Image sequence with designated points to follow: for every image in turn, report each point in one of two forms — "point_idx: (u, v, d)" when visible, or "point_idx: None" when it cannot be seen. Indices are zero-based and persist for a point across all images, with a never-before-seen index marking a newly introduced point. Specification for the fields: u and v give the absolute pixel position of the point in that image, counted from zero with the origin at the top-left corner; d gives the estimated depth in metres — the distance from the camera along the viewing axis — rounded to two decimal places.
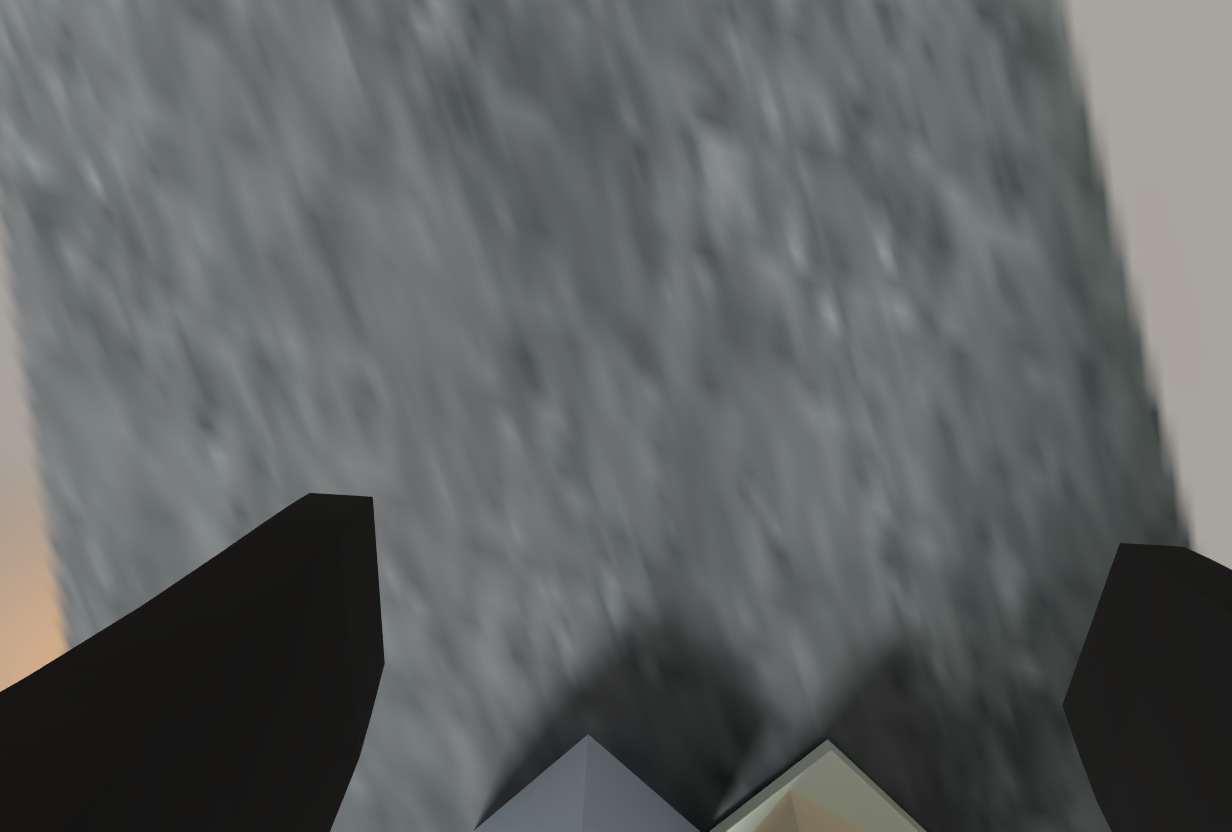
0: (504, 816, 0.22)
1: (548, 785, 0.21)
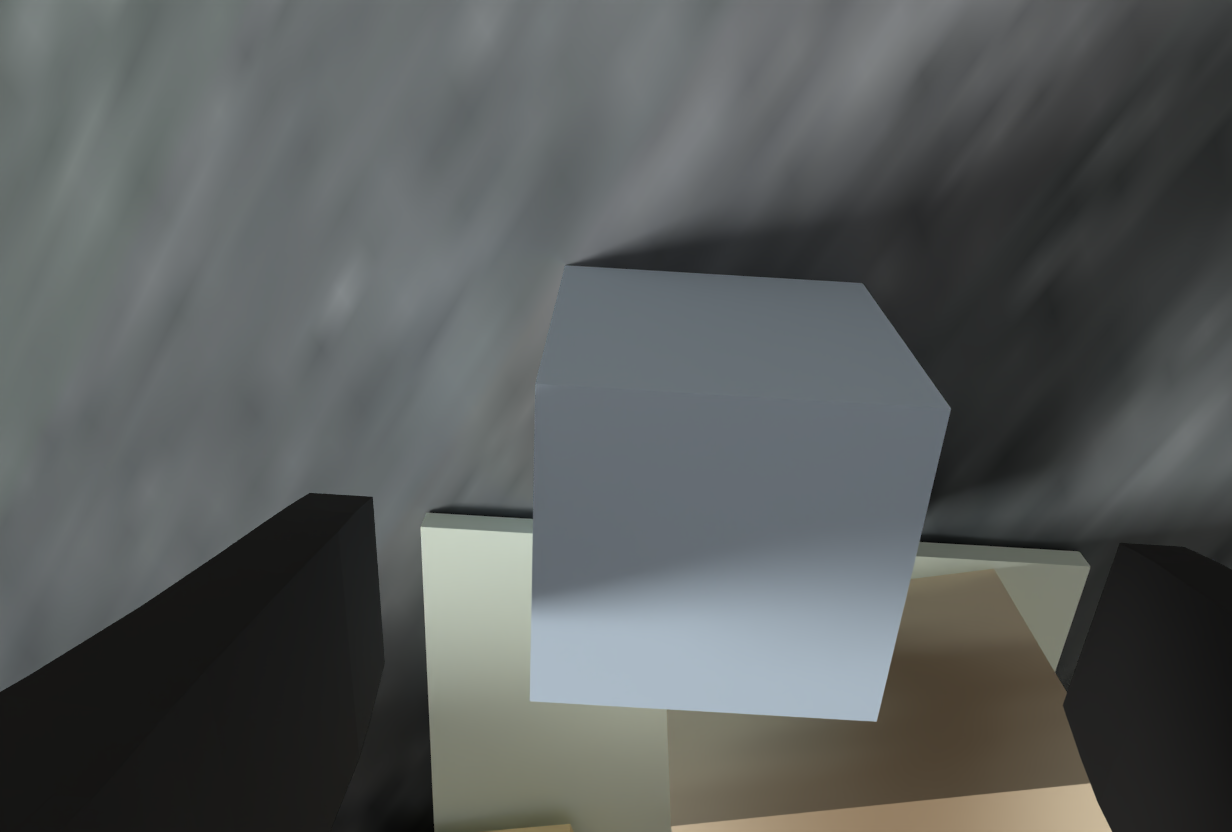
0: (654, 281, 0.12)
1: (775, 293, 0.12)
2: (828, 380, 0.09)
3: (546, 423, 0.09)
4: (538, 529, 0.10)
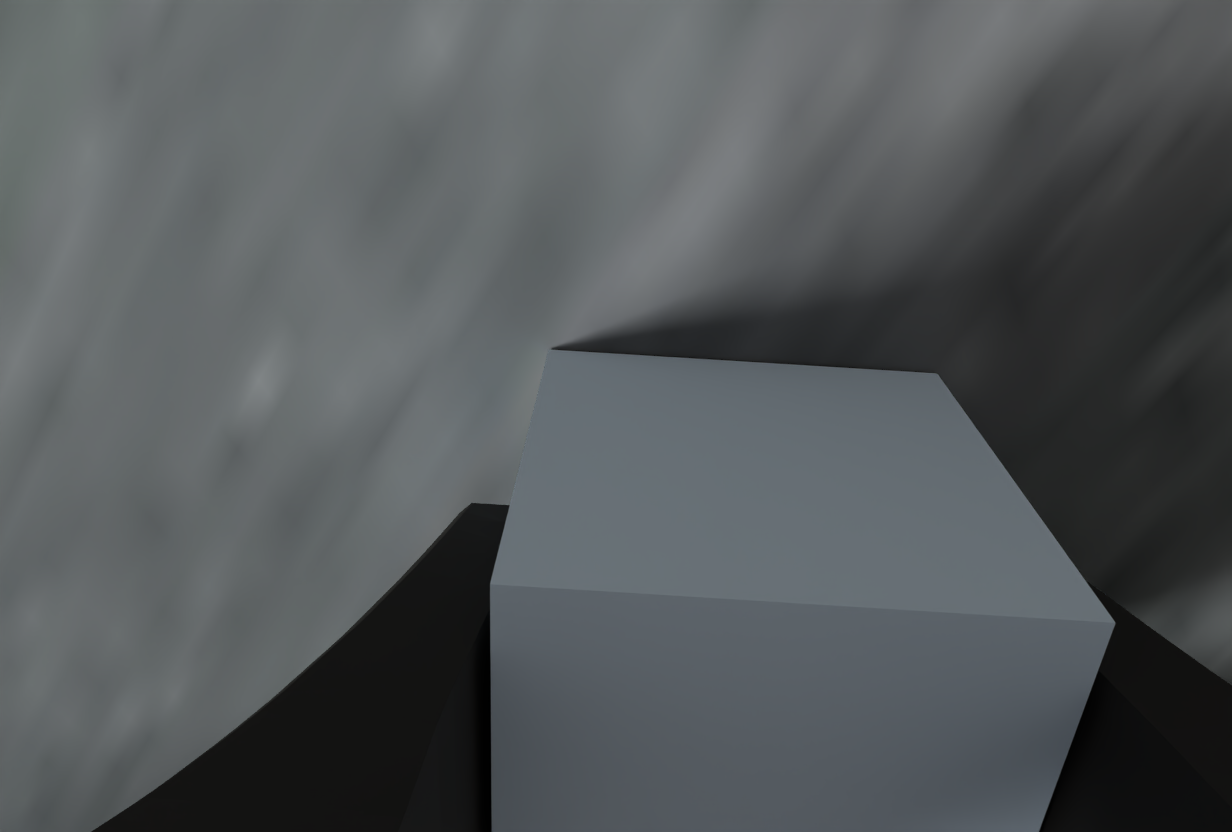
0: (666, 378, 0.09)
1: (827, 397, 0.09)
2: (923, 565, 0.06)
3: (507, 636, 0.06)
4: (499, 771, 0.07)
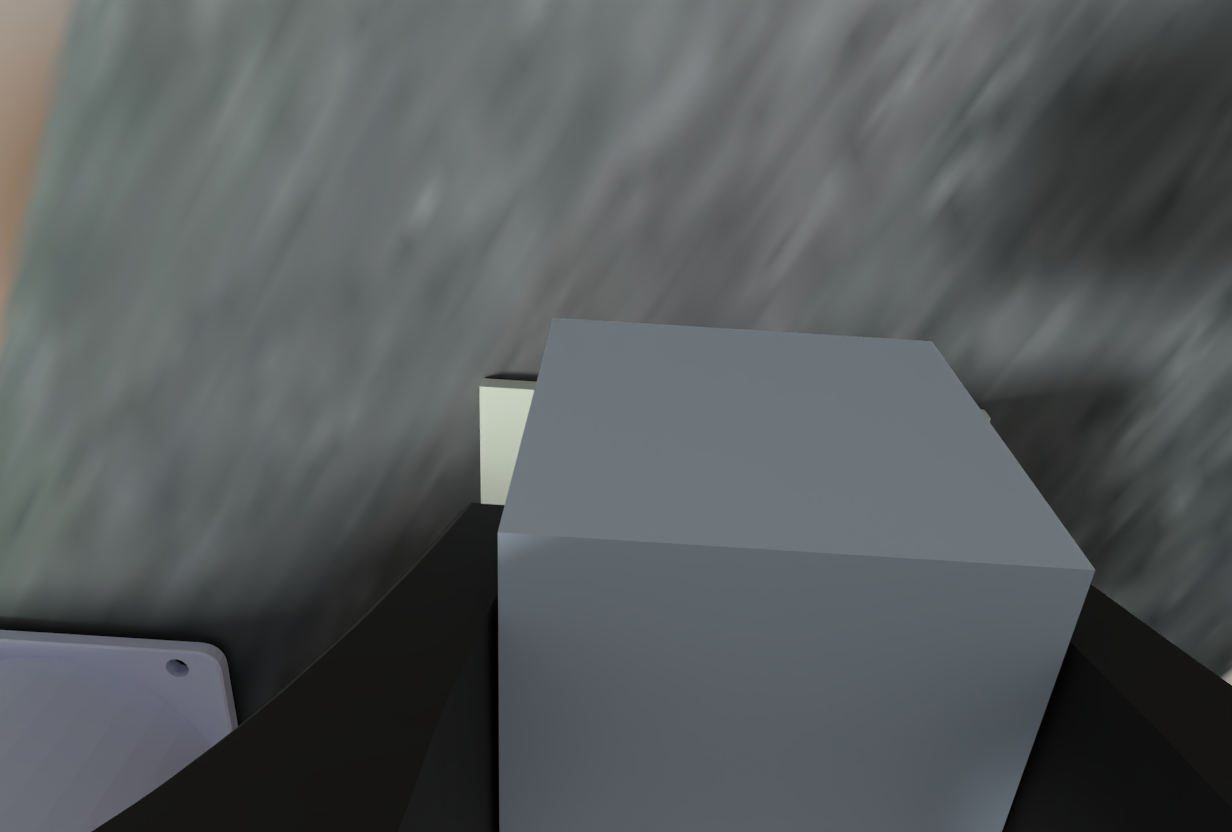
0: (667, 345, 0.09)
1: (824, 363, 0.09)
2: (914, 517, 0.07)
3: (514, 583, 0.06)
4: (506, 714, 0.07)
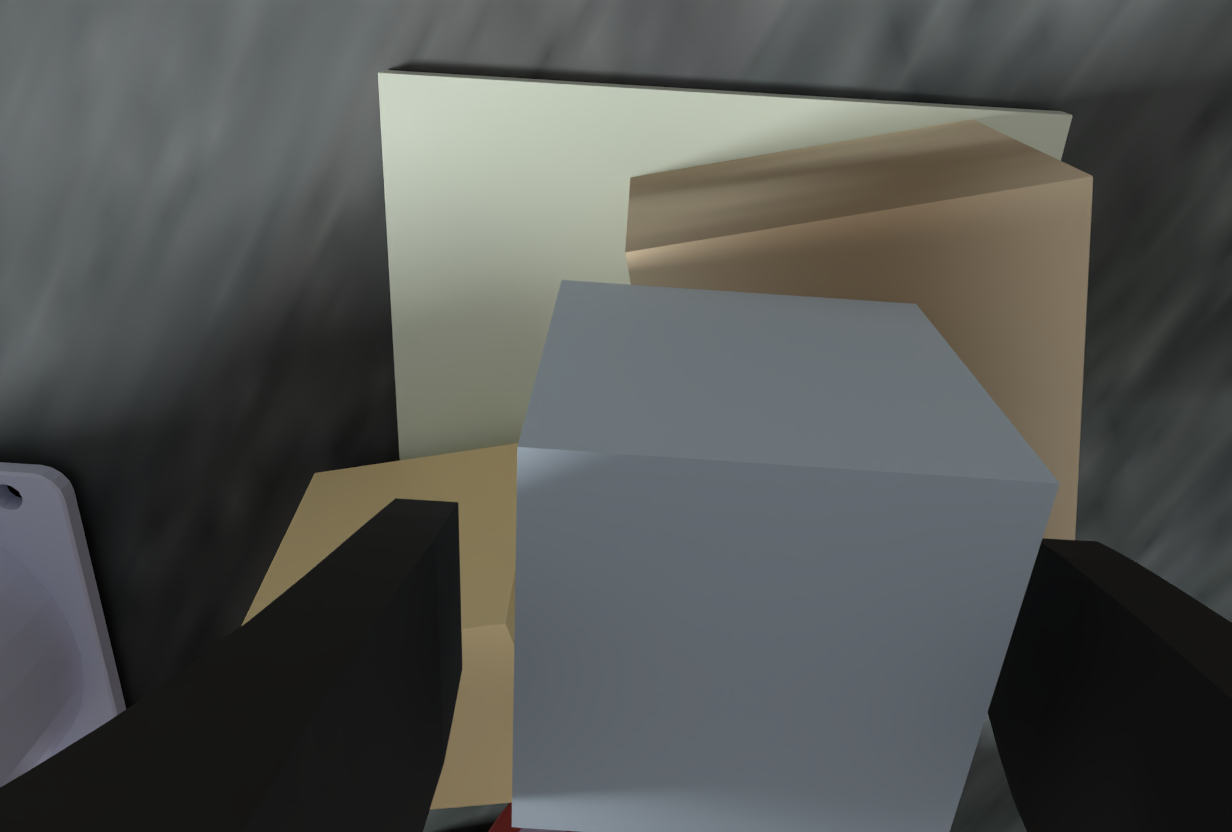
0: (668, 303, 0.10)
1: (816, 320, 0.10)
2: (894, 440, 0.07)
3: (531, 496, 0.07)
4: (521, 625, 0.08)
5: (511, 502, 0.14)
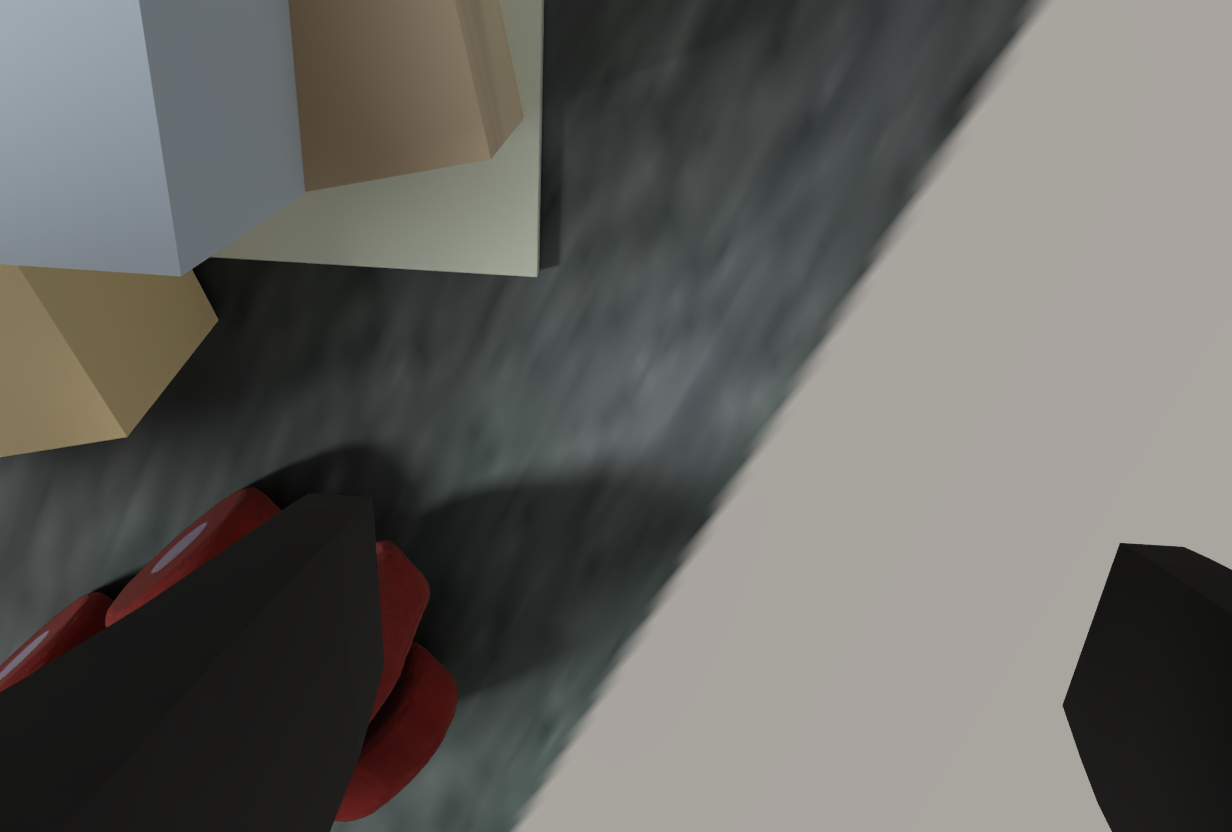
0: None
1: None
2: None
3: None
4: None
5: None
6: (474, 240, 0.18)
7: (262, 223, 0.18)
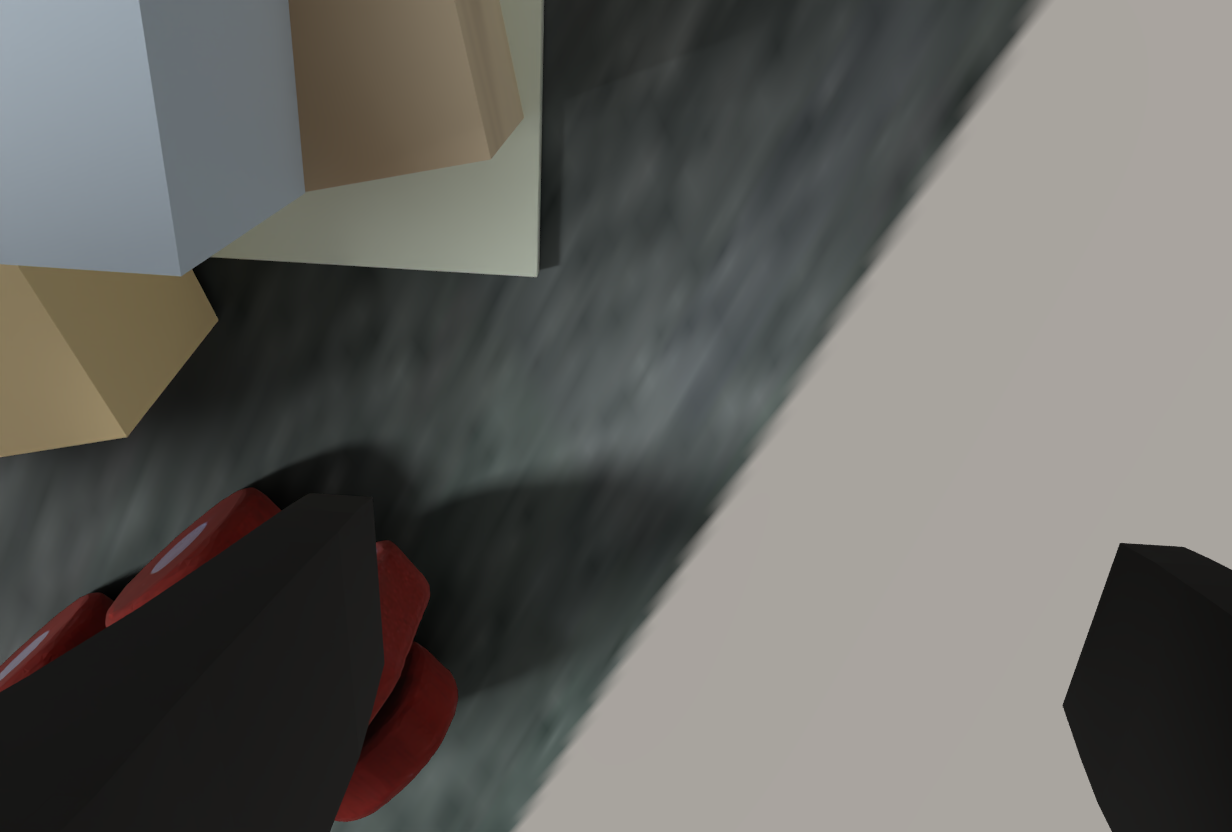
0: None
1: None
2: None
3: None
4: None
5: None
6: (474, 240, 0.18)
7: (262, 223, 0.18)
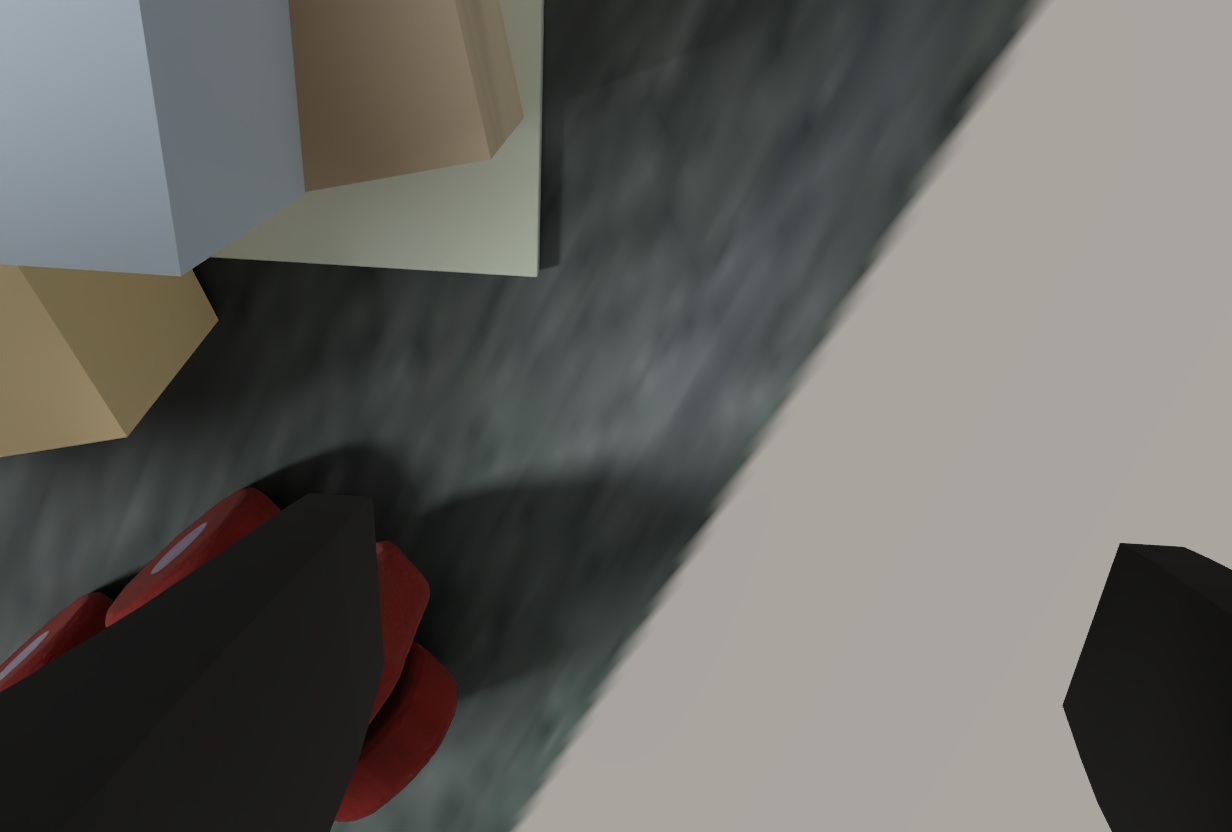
0: None
1: None
2: None
3: None
4: None
5: None
6: (474, 240, 0.18)
7: (262, 223, 0.18)
